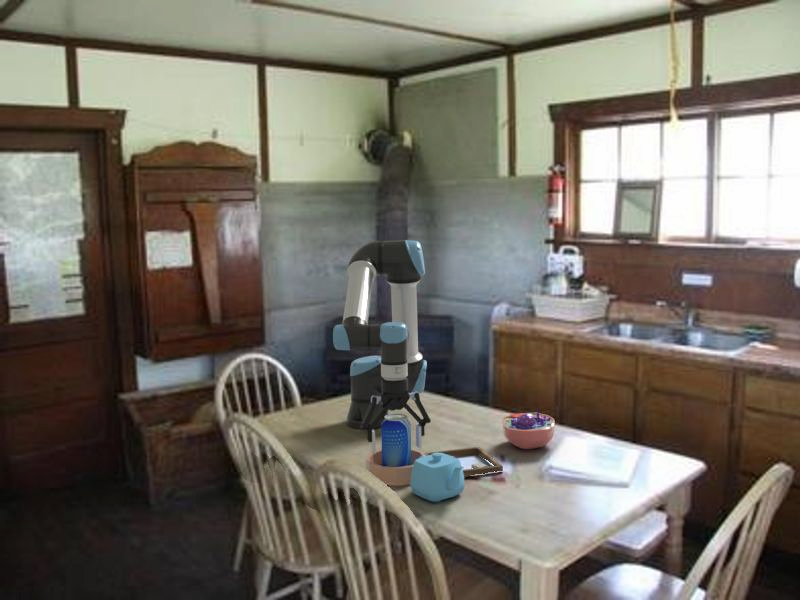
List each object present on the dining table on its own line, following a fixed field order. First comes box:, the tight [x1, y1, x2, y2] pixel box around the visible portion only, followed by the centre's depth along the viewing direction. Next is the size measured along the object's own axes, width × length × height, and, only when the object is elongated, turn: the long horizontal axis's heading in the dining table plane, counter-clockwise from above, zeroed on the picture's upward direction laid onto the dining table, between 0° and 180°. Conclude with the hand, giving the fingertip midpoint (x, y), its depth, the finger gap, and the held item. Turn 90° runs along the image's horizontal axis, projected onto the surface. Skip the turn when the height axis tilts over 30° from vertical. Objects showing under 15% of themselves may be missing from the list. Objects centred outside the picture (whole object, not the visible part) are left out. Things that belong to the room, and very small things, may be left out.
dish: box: [365, 448, 426, 487], centre depth 220 cm, size 18×18×5 cm
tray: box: [423, 446, 504, 479], centre depth 225 cm, size 18×18×2 cm
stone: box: [471, 462, 488, 469], centre depth 221 cm, size 4×3×2 cm
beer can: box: [380, 413, 412, 467], centre depth 219 cm, size 8×8×16 cm
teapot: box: [410, 453, 466, 503], centre depth 203 cm, size 12×18×12 cm
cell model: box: [501, 411, 556, 450], centre depth 241 cm, size 17×20×11 cm
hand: (396, 449), depth 219 cm, fingers open, 13 cm apart
